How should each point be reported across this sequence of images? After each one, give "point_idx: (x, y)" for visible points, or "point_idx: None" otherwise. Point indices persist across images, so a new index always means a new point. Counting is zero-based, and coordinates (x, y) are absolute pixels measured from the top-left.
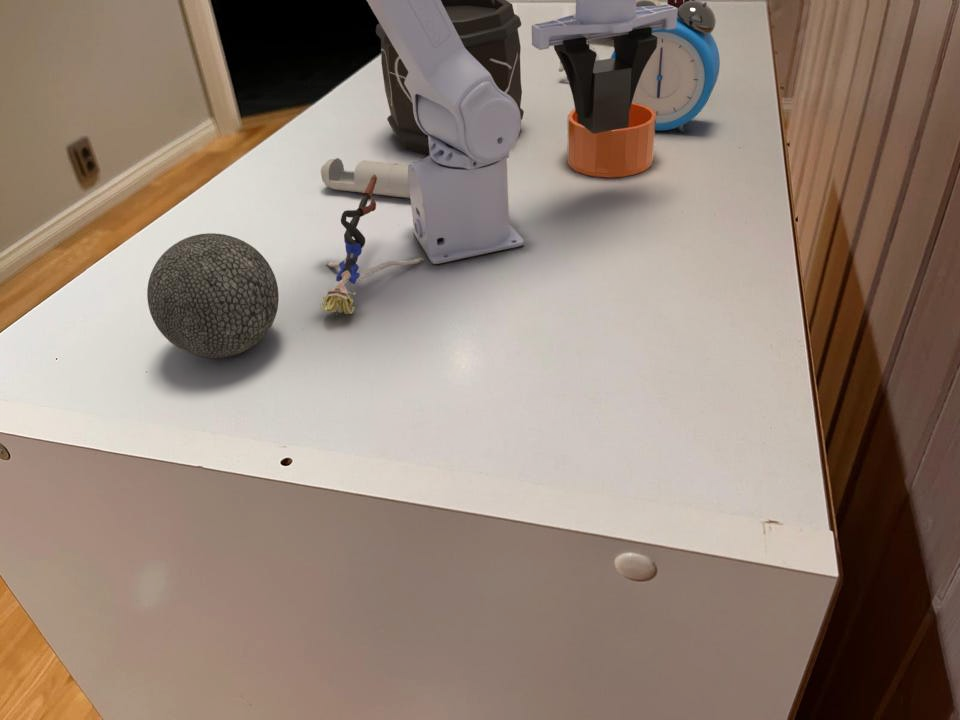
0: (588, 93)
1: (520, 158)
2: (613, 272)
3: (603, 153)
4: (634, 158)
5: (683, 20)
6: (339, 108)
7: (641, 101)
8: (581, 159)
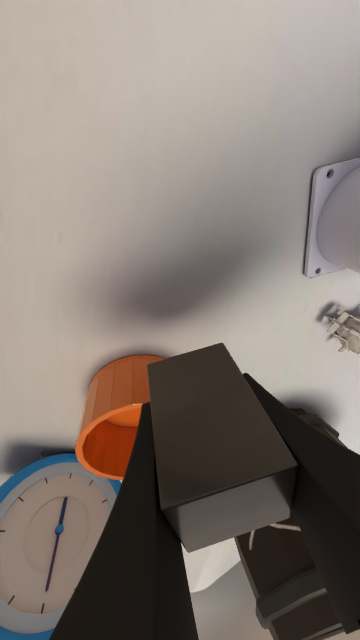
0: (271, 412)
1: None
2: (220, 3)
3: None
4: (116, 374)
5: None
6: None
7: (88, 491)
8: None
